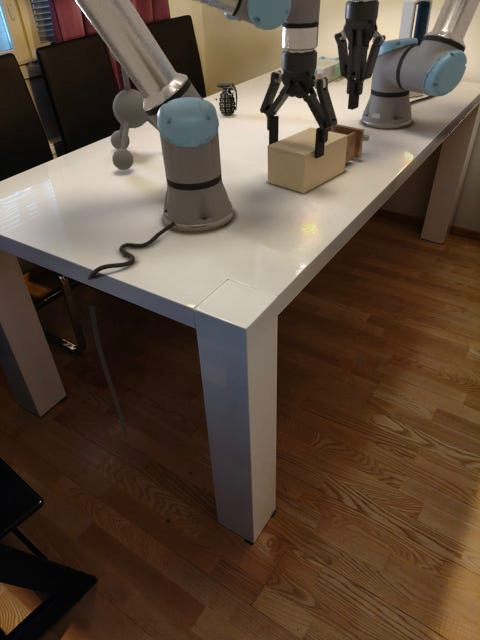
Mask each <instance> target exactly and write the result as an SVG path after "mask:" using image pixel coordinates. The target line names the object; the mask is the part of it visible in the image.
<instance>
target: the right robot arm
mask: <svg viewBox="0 0 480 640" xmlns="http://www.w3.org/2000/svg"><path fill="white" fill-rule="evenodd" d="M479 5H480V0H444V2H443V3H442V6H441V8H440V12H439V14H438V15H437V18H436V21H435V23H434V26H433V28H432V30H431V31H428V32H427V34H426V35H424V38H423V40H422V43H421V45H420V46H419V45H418V39H417V38H413V37H412V38H403V39H399V38H395V39H388V40H386V39H387V36H386V35H385V34H381V33H380V32H379V31H378V30H379V29H378V24H377V20H378V17H379V8H380V1H379V0H348V1H346V2H345V10H344V19H345V22H344V24H343V28H342V29H341V30H340V31H338V32H337V33H334V36H333V38H334V40H335V42H336V46H337V54H338V58H339V64H340V73H341V78H344V79H346V81H347V82H346V94H347V95H348V101H347V110H352V111H354V110H356V109H357V108H359V105H360V96H361V95H363V92H364V82H365V81H366V80H368V79H371V86H370V95H369V98H368V101H367V103H366V105H365V107H364V110H363V112H362V115H361V123H362V124H363V125H365V126H367V127H369V128H370V127H371V128H375V129H382V130H384V129H385V130H386V129H387V130H392V129H400V128H401V129H402V128H405V127H408V126H410V125H411V124H412V121H413V120H412V119H413V112H412V106H411V104H415V103H418V102H421V101H425V100H428V99H432V98H433V97H444V96H446V95H448V94H450V93H452V92H453V91H454V90H455V89H456V87H458V85H459V84H460V82H461V81H462V79H463V78H464V74H465V72H466V69H467V66H466V65H467V63H468V58H467V57H468V56H467V55H466V53H465V51H466V44H465V41H464V40H465V39H464V38H465V37H466V34H467V32H468V30H469V27H470V25H471V23H472V20H473V18H474V16H475V14H476V12H477V9H478V7H479ZM370 42H372V44H371V46H370ZM369 48H370V49H369ZM368 50H369V51H368ZM368 52H369V53H368ZM410 91H412V92H417V93H422V95H426V96H424V97H420V98H418V99H417V98H416V99H413V100H411V99H410V97H409V94H410Z"/></svg>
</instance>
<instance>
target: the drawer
mask: <svg viewBox="0 0 480 640" xmlns="http://www.w3.org/2000/svg"><path fill="white" fill-rule="evenodd" d="M329 131H330V132H335V133H340V134H345V135H348V137H347V149H346V160H345V164H347V163H348V162H349V161H353V160H354V159H361V158H362V155H363V144H364V142H367V143H368V142H369V141H370V139H371V137H370V135H369V134H365V129H364V128H359V127H354V126H349V125H344V124H338V123H337V124H336V125H334V126H332V127H329Z"/></svg>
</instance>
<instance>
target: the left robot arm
mask: <svg viewBox="0 0 480 640" xmlns="http://www.w3.org/2000/svg"><path fill="white" fill-rule="evenodd" d="M74 1H75V2H76V4H77V5H78V6H79V8H80V9H81V11H82V12H83V14H84V15H85V17H86V18H87V19H88V21H89V22H90V23H91V25H92V26H93V28H94V30H96V32H97V34H98V35H99V36H100V38H101V39H102V41H103V42H104V43H105V45H106V46H107V48H108V49H109V51H110V50H111V52H112V53H113V54H114V56H115V57H116V59H117V60H118V61H117V62H118V63H119V64H120V67H121V66H122V67H123V69H124V70H125V71H126V73H127V74H128V76H129V80H131V81H132V83H133V84H134V86H135V87H136V89H137V91H139V92H140V93H141V94H142V95H143V97H144V103H143V109H144V110H145V112H146V113H147V115H148V116H149V118H150V119H151V120H152V122H153V123H154V124H155V126H156V127H157V129H158V130H157V129H156V130H157V131H158V133H159V139H160V145H161V153H162V159H163V168H164V174H165V180H166V190H165V191H166V192H165V196H164V203H163V207H162V218H163V222H164V224H165V226H164V227H163V228H162V229H160V230H159V231H157V232H156V233H155V234H153V236H152V237H151V238H150V239H149V240H147V241H145V242H142V243H132V242H125V243H123V244H121V245H120V246H119V248H118V251H119V252H120V253H121V254H122V255H124V256H126V257H128V258H129V259H128V260H127V261H123V262H113V263H105V264H102V265H99V266H97V267H96V268H94V269H93V270H92V271H91V272H90V273H89V275H88V277H87V280H92V279H94V278H95V277H96V276H97V274H98V273H99V272H102V271H104V270H109V269H117V268H118V269H119V268H126V267H129V266H131V265H132V264H134V262H135V260H136V257H135V256H134V254H132V253H131V252H129V251H127V250H125V249H127V248H134V249H142V248H146V247H148V246H151V245H152V244H153V243H154V242H156V240H157V239H158V238H160V237H161V236H162V235H163V234H165V233H166V232H168V231H169V230H173V231H177V232H180V233H190V234H191V233H192V234H193V233H194V234H195V233H196V234H197V233H205V232H206V233H207V232H210V231H215V230H216V229H220V228H222V227H224V226H226V225H227V224H228V223H230V221H231V220H232V218H233V216H234V212H233V211H234V210H233V205H232V201H231V200H230V197H229V195H228V192H227V190H226V187H225V184H224V182H223V175H222V174H223V173H222V164H221V163H222V161H221V147H220V134H219V127H220V121H219V120H220V119H219V117H218V114H217V109H216V106H215V105H214V104H213V103H212V102H211V101H209V100H207V99H204V98H203V97H202V96H201V95H200V94H199V92H198V91H197V89H196V88H195V86H194V84H193V83H192V81H191V79H190V78H189V77H188V75H186V73H185V74H184V73H181V72H177V71H176V70H175V68H174V67H173V65H172V63H171V62H170V60H169V59H168V57H167V55H166V54H165V53H164V51H163V50H162V48H161V47H160V45H159V43H158V42H157V40H156V38H155V37H154V35H153V34H152V33H151V31H150V29H149V27H148V25H146V22H145V21H144V20H143V18H142V17H141V14H139V12H138V11H137V9H136V7H135V6H134V4H133V3H132V1H131V0H74ZM193 1H194V2H197V3H199V4H201V5H204V6H206V7H209V8H212V9H214V10H217V11H220V12H222V13H224V17H225V19H226V20H228V21H238V22H242V21H243V22H246V23H249V24H251V25H254V26H255V27H256V28H257V29H260V30H263V31H271V30H272V31H273V30H276V29H279V28H280V27H281V26H282V27H281V48H282V49H283V51H282V52H281V67H280V68H281V70H282V71H281V70H279V69H278V70H275V71H271V73H270V79H269V85H268V86H267V89H266V92H265V95H264V98H263V100H262V103H261V105H260V108H259V112H260V113H261V114H264V115H265V117H266V129H267V131H268V145H270V144H273V143H275V142H278V141H279V127H280V126H279V123H280V122H279V119H280V116H279V115H277V114H278V112H279V111H280V110H281V108H282V106H283V105H284V104H285V102H286V101H287V100H288V98H297V99H302V100H303V101H304V102H305V103H306V105H307V106H308V108H309V110H310V112H311V114H312V116H313V118H314V119H315V121H316V123H317V125H318V127H315V128H316V140H315V155H314V158H319V157H321V156H323V155H324V147H325V143H326V142H327V141H328V132H329V127H332V126H334V125H336V124H338V119H337V118H338V117H337V114H336V112H335V109H334V105H333V102H332V98H331V95H330V91H329V82H328V79H327V78H326V77H324V78H321V79H316V78H315V70H316V67H317V58H318V51H317V50H316V49H317V48H318V46H319V32H320V31H319V30H320V29H319V28H320V10H321V0H193ZM281 83H282V84H283V87H281V89H280V86H281ZM279 89H280V91H279ZM277 93H279V94H278V95H277ZM276 96H277V97H276ZM89 314H90V320H91V325H92V330H93V335H94V340H95V345H96V349H97V352H98V356H99V359H100V362H101V366H102V369H103V373H104V375H105V379H106V382H107V384H108V388H109V390H110V391H109V392H110V394H111V397H112V400H113V403H114V407H115V409H116V412H117V416H118V420H119V422H120V425H121V429H122V433H123V435H124V436H128V434H129V433H128V429H127V426H126V422H125V419H124V415H123V413H122V409H121V406H120V403H119V400H118V396H117V394H116V390H115V387H114V385H113V384H114V383H113V382H112V381H113V380H112V378H111V375H110V372H109V368H108V365H107V362H106V358H105V355H104V351H103V347H102V343H101V338H100V333H99V329H98V324H97V319H96V317H97V315H96V309H95V306H93V305H91V304H89Z"/></svg>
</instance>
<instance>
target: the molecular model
mask: <svg viewBox="0 0 480 640" xmlns="http://www.w3.org/2000/svg"><path fill="white" fill-rule="evenodd" d="M109 53H110V55H111V57H112V59H113V60H115V61H116V62H118V60H117V59H116V57H115V56H114V54H113V53H112V52H111V50H110V49H109ZM120 70H121V76H122V81H123V86H124V89H123V90H121V91H119V92H118V93H117V94H116V95H115V97H114V99H113V102H112V112H113V115H114V117H115V119H116V121H117V122H118V123H120V127H119V129H118V130H115V131H114V132H113V133H111V136H110V144H111V145H112V147H113V148H114V149H115V151H114V152H113V153H112V156H111V160H112V163H113V165H114V167H115V168H117V169H118V170H121V171H128V170H129V169H131V167H132V166H133V164H134V156H133V153H131V151H130V150H128V147H129V146H130V141H131V140H130V136H129V133H130V129H138V128H141V127H142V126H144V125H145V123H147V122H148V123H149V124H150V125H151V126H152V127H154V129H156V130H157V131H158V129H157V127H156V126H155V124H154V123H153V122H152V120H151V119H150V118H149V116H148V115H147V113H146V112H145V110H144V109H143V103H144V97H143V95H142V94H141V93H140V91H139V90H138V89H134V88H131V83H130V77H129V76H128V74H127V73H126V71H125V70H124V69H123V67H122V66H121V65H120Z"/></svg>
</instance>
